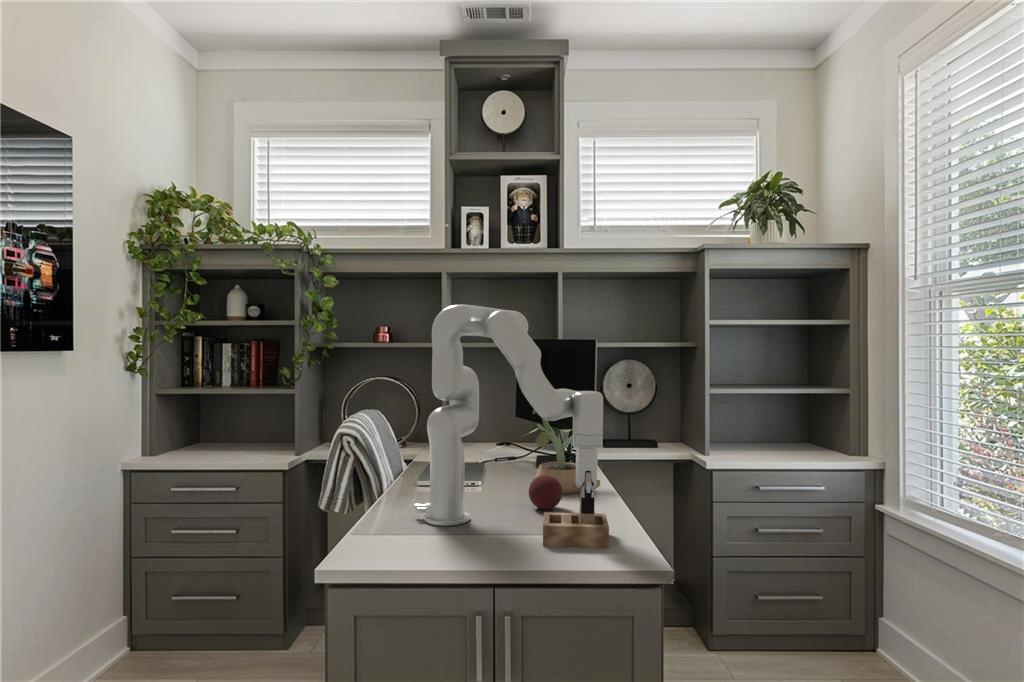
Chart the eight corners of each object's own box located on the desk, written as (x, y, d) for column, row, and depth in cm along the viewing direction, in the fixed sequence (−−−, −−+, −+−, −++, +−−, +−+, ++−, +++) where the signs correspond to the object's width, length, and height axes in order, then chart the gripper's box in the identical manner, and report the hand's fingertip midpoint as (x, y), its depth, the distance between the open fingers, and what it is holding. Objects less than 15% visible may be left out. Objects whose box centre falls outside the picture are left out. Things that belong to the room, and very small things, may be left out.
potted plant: (590, 484, 224) (591, 397, 224) (580, 496, 207) (581, 402, 207) (527, 479, 231) (528, 395, 230) (513, 491, 214) (513, 400, 213)
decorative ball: (568, 511, 190) (568, 477, 190) (538, 515, 185) (538, 480, 185) (551, 503, 199) (551, 470, 199) (522, 506, 194) (522, 473, 194)
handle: (594, 544, 160) (595, 483, 159) (570, 539, 163) (571, 480, 163) (602, 539, 164) (603, 480, 164) (579, 534, 167) (580, 476, 167)
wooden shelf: (542, 546, 158) (542, 525, 158) (543, 531, 170) (543, 512, 170) (608, 548, 157) (609, 527, 157) (605, 532, 169) (605, 513, 169)
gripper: (571, 434, 172) (571, 499, 172) (573, 445, 155) (572, 517, 155) (600, 435, 172) (599, 499, 172) (605, 446, 154) (604, 518, 154)
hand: (586, 508), depth 163 cm, fingers open, 9 cm apart
